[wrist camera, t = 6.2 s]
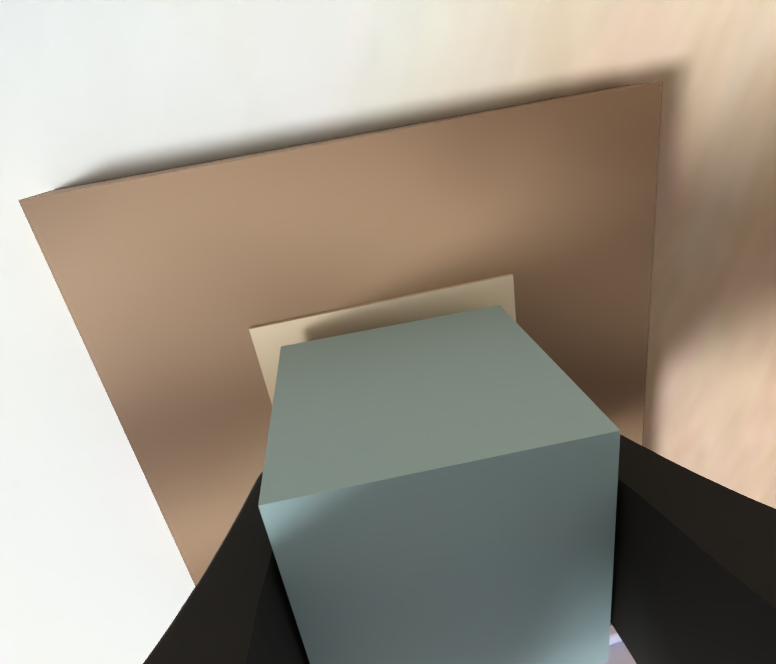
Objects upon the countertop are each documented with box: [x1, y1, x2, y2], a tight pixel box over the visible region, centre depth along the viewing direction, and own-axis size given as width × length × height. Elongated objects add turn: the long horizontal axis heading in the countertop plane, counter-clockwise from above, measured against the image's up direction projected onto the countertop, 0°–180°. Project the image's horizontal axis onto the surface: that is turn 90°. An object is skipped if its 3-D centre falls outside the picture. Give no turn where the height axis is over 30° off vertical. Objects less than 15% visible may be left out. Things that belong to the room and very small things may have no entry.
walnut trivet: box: [19, 82, 662, 586], centre depth 12 cm, size 12×12×1 cm
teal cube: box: [258, 305, 620, 664], centre depth 9 cm, size 4×4×4 cm
